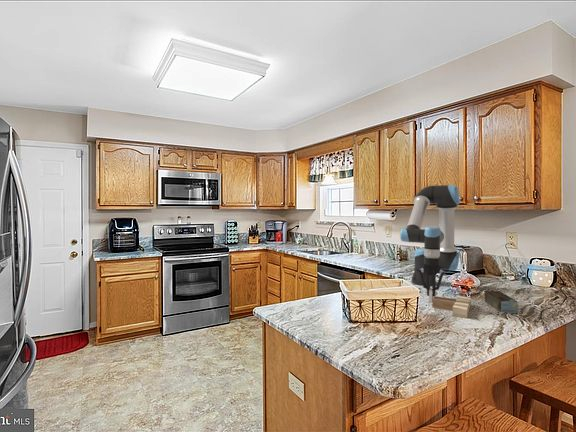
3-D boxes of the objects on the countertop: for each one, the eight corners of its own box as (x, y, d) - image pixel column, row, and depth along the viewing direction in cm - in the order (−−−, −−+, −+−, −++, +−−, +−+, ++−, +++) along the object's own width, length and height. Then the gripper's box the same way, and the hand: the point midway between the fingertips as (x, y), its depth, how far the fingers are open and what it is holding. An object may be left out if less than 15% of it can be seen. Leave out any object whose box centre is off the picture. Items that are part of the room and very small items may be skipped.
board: (457, 303, 178) (458, 295, 177) (470, 305, 174) (470, 297, 174) (452, 315, 157) (452, 307, 157) (466, 318, 154) (467, 309, 154)
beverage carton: (500, 312, 163) (500, 299, 163) (483, 301, 182) (484, 289, 182) (518, 313, 162) (518, 300, 162) (499, 302, 181) (499, 290, 181)
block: (434, 304, 176) (434, 296, 176) (455, 307, 170) (456, 299, 170) (432, 308, 170) (432, 299, 170) (454, 311, 164) (454, 302, 164)
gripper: (417, 256, 174) (416, 302, 175) (444, 259, 167) (443, 306, 168) (419, 255, 180) (419, 298, 181) (446, 257, 173) (445, 302, 174)
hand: (430, 302), depth 174 cm, fingers closed
